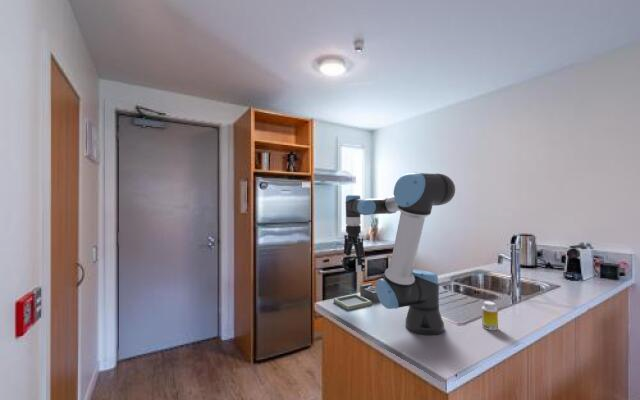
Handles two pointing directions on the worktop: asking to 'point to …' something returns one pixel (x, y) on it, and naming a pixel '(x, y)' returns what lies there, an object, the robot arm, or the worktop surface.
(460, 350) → the worktop surface
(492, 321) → the supplement bottle
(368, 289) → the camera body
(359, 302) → the grey square frame
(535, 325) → the worktop surface
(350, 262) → the black ridged block
